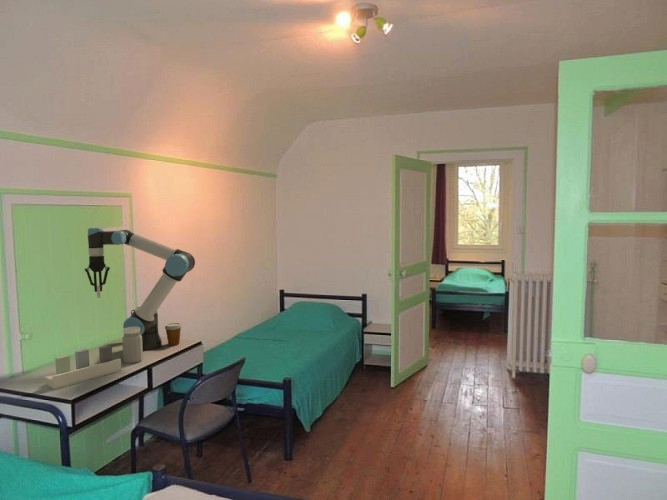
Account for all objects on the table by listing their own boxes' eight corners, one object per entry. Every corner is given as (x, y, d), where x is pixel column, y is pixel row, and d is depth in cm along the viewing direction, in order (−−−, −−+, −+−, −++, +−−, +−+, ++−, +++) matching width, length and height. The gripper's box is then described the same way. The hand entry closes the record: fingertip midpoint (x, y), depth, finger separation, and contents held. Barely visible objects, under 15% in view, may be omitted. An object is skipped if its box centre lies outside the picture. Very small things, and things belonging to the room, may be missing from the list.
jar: (138, 357, 258) (137, 325, 256) (146, 361, 251) (144, 328, 249) (120, 361, 251) (118, 328, 249) (127, 365, 244) (126, 331, 242)
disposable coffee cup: (176, 346, 277) (176, 326, 276) (162, 345, 279) (161, 326, 278) (185, 342, 286) (184, 323, 285) (171, 341, 288) (170, 322, 287)
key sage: (56, 382, 217) (55, 357, 216) (68, 379, 221) (66, 354, 220) (59, 384, 216) (58, 358, 215) (71, 380, 219) (69, 356, 218)
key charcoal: (100, 370, 233) (98, 347, 232) (110, 368, 237) (108, 345, 236) (103, 372, 231) (101, 348, 230) (113, 369, 235) (111, 346, 234)
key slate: (76, 375, 227) (75, 351, 226) (87, 372, 231) (85, 348, 230) (79, 376, 225) (77, 352, 224) (89, 373, 229) (88, 349, 228)
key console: (45, 384, 218) (44, 371, 218) (111, 366, 242) (110, 355, 242) (54, 389, 212) (54, 376, 211) (121, 370, 236) (120, 359, 236)
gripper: (108, 254, 266) (110, 295, 268) (82, 255, 259) (85, 297, 261) (110, 255, 260) (112, 297, 262) (83, 256, 253) (86, 299, 255)
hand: (98, 297), depth 262 cm, fingers closed
